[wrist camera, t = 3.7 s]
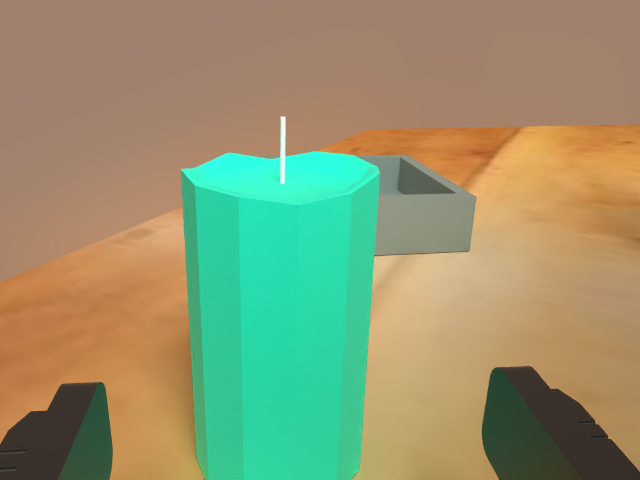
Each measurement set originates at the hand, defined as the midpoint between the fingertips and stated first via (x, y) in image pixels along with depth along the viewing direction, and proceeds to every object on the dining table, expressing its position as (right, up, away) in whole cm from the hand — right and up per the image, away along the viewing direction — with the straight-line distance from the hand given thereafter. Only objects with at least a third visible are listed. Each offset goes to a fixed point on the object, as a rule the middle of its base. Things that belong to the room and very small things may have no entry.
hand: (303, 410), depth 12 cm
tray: (+3, +5, +34) cm, 34 cm away
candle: (-1, -4, +9) cm, 10 cm away
